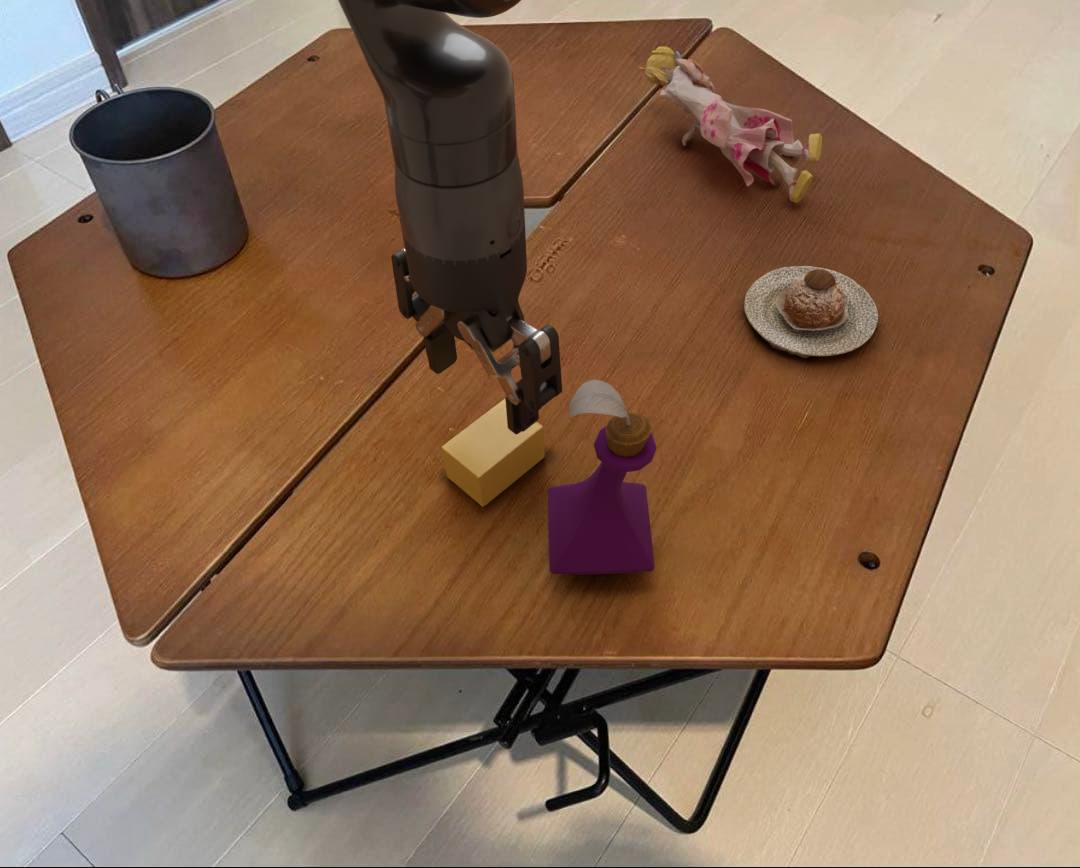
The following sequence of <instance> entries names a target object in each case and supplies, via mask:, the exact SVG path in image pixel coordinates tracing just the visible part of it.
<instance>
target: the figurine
mask: <svg viewBox="0 0 1080 868" xmlns="http://www.w3.org/2000/svg"><path fill="white" fill-rule="evenodd" d="M638 68H639V69H641V70H642V71H643V72H644V73H645V74H644V75H645V78H646V79H647V80H648V82H649V83H650V84H652V85H653V84H654V85H661V86H666V87H665V88H664V89H661V90H660V93H659V97H660V99H661V100H664V99H665V100H666V99H667V100H670V101H671V102H673V103H675V104H676V105H677V106H679V107H680V108H682V109H683V111H685V113H687V114H689V115H691V116H692V117H693V118H695V119H694V121H693V123H692V124H691V128H692V129H691V130H689V131H688V132H686V133H685V134H683V138H682V140H681V143H682V146H685V147H686V146H687V143H688V141H690V139H691V138H693V137H694V136H695V135H696V133H697V131H700V134H701V137H703V139H704V140H706V141H708V142H709V143H710V144H712V145H714V146H715V147H718V148H719V149H720V150H721V153H722V155H724V156H725V158H726V159H728V160H729V161H730V162H731V163H732V165H733V166H734V168H736V169H737V171H738V172H739V174H740V175H741V176H742V178H743V181H744V182H745V185H746V186H747V187H749V186H752V185H753V183H754V181H755V179H754V177H753V174H752V173H751V171H752V172H753V173H754V174H756V175H757V176H758V177H759V178H760V179H761V180H762V181H764V182H766V183H768V184H770V185H774V186H776V182H775V180H774V179H772V178H771V173H772V172H775V169H777V171H778V172H779V174H780V176H781V178H783V180H784V182H785V183H786V185H787V187H788V190H789V191H788V194H789V195H788V198H789V202H793V203H796V204H797V203H800V201H801V199H802V198H803V197H804V195H805V193H806V192H807V190H808V189H809V187H810V185H812V182H813V179H814V176H813V175H812V174H811V173H810V172H809V171H808V170H806V169H805V170H802V171H801V173H800V174H799V177H798V171H799V168H797V167H796V168H795V167H792V166H790V165H789V164H788V163H787V162H786V161H784V160H783V158H782V155H783V156H786V157H789V158H790V157H801V158H804V160H805V161H806V162H807V163H808V164H813V165H814V164H816V163H818V162H819V160H820V158H821V153H822V147H823V135H822V134H821V133H809V136H808V140H807V142H805V144H804V145H803V144H802V142H801V141H800V140H799V139H797V140H795V137H794V131H793V130H794V129H793V120H792V119H791V118H789V117H787V116H783V115H782V114H779V113H776V112H774V111H771V110H768V109H765V108H757V107H748V106H747V107H746V106H743V105H737V104H732V103H728V102H726V101H724V100H723V98H722V96H721V95H719V94H717V93H716V88H715V86H714V83H713V82H712V81H711V79H710V76H708V75H707V74H706V73H705V70H704V69H703V67H702V66H701V65H700V64H699V63H698V62H696V60H695V59H692V58H688V59H685V58H682V55H681V54H680V52H679V51H677V50H676V51H674V50H673V49H672V48H671V47H668V46H658V47H657V48H656V49H655V50H654V49H653V50H652V51H651V55H650V56H649V57H648V59H647V61H646V64H645V67H641V66H638ZM807 147H808V149H807ZM748 169H749V170H750V171H749V170H748ZM797 178H798V179H797Z"/></svg>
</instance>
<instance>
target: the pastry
mask: <svg viewBox="0 0 1080 868" xmlns="http://www.w3.org/2000/svg"><path fill="white" fill-rule="evenodd" d="M743 303H744V304H743V306H744V308H743V309H744V314H745V315H746V318H747V320H748V323H749V324H750V325H751V327H752V328H753V329H754V330H755V331H756V333H758V334H759V335H760V336H761V338H762V340H764V341H765V342H766V343H767V344H769V346H770V347H771V348H774V349H776V350H778V351H782V352H787V353H788V354H790V355H795V356H799V357H801V358H805V359H807V358H809V357H810V356H811V357H829V356H837V355H843V354H846V353H849V352H852V351H854V350H856V349H858V348H860V347H861V346H863V345H864V344H865V343H866V342H868V341H869V340H870V339H871V338H872V336H873V335H874V333H875V331H876V328H877V327H878V323H879V312H878V308H877V305H876V303H875V301H874V299H873V298H872V297H871V296H870V293H869V292H868V291H867V290H866V289H865V288H864V287H863V286H861V285H860V284H858V283H857V282H856V281H855V280H854V279H852V278H850V277H849V276H847V275H845V274H843V273H841V272H839V271H835V270H832V269H829V268H824V267H817V266H811V265H797V266H795V265H794V266H792V265H791V266H784V267H783V266H782V267H779V268H776V269H773V270H770V271H768V272H767V273H765V274H763V275H762V276H761V277H759V278H758V279H756V280H755V281H754V282H753V283H752V284H751V285H750V287H749V289H748V290H747V292H746V293H745V296H744V300H743Z"/></svg>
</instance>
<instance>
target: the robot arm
mask: <svg viewBox="0 0 1080 868" xmlns="http://www.w3.org/2000/svg"><path fill="white" fill-rule="evenodd" d="M521 1H522V0H337V2H338V4H339V6H340V8H341V11H342V12H343V14H344V16H345V18H346V20H347V23H348V25H349V27H350V30H351V31H352V33H353V35H354V37H355V40H356V41H357V44H358V46H359V48H360V51H361V53H362V55H363V57H364V59H365V61H366V64H367V66H368V69H369V70H370V72H371V74H372V76H373V78H374V79H375V81H376V83H377V84H376V85H377V86H378V88H379V90H380V92H381V95H382V98H383V102H384V110H385V115H386V121H387V122H386V123H387V127H388V133H389V140H390V144H391V150H392V156H393V157H392V158H393V165H394V191H395V192H394V193H395V200H396V206H397V211H398V217H399V221H400V222H399V223H400V228H401V235H402V240H403V245H404V246H403V248H401V249H400V250H398V251H396V252H395V253H393V254H392V255H391V256H390V257H391V259H390V260H391V265H392V272H393V279H394V287H395V291H396V299H397V305H398V310H399V312H400V314H401V316H403V318H405V319H407V320H409V319H411V318H413V319H414V320H415V322H416V323H415V328H416V330H417V332H418V334H419V335H420V336H421V337H423V343H424V348H425V354H426V357H427V362H428V367H429V369H430V370H431V371H433V372H434V374H436V375H440V374H442V373H443V372H444V371H446V370H447V369H448V368H450V367H452V366H453V365H454V364H455V363H456V362H457V360H458V354H457V346H456V345H457V344H456V339H458V340H460V341H462V342H464V343H465V344H466V345H467V346H468V347H470V348H471V349H472V350H473V351H474V353H475V355H476V356H477V358H478V360H479V362H480V364H481V366H482V367H483V370H484V371H485V373H486V375H487V376H489V377H491V378H496V379H497V381H498V383H499V385H500V386H501V388H502V390H503V392H504V394H505V397H504V399H505V400H506V412H507V425H508V429H509V430H510V431H512V432H513V433H514V434H519V433H520V432H521V431H522V432H524V431H525V430H527V429H528V428H529V427H530V426H532V425H533V424H534V423H535V422H538V420H539V419H540V410H541V409H542V408H543V407H545V405H547V404H548V403H549V402H550V401H551V400H553V399H555V398H556V397H558V396H559V395H560V394H561V393H563V381H562V379H563V378H562V366H561V351H560V337H559V332H558V331H557V329H556V328H555V327H554V326H552V325H551V324H545V325H544V326H543V327H541V328H540V329H537V328H536V327H534V326H533V325H530V323H527V322H526V319H525V316H524V313H523V311H522V308H521V305H520V302H519V298H520V294H521V291H522V288H523V286H524V283H525V280H526V278H527V273H528V258H527V256H528V255H527V238H526V237H527V236H526V234H527V233H526V215H525V194H524V193H525V192H524V191H525V190H524V180H523V179H524V178H523V172H522V168H521V163H520V159H519V153H518V151H519V150H518V135H517V132H518V131H517V118H516V117H517V115H516V101H515V100H516V98H515V97H516V96H515V95H516V94H515V81H514V74H513V68H512V66H511V62H510V60H509V59H508V57H507V55H506V54H505V52H504V51H503V50H502V49H501V48H500V47H499V46H498V45H497V44H495V43H493V42H492V41H491V40H489V39H487V38H486V37H484V36H482V35H480V34H478V33H476V32H474V31H472V30H470V29H469V28H466V27H464V26H463V25H461V24H460V23H458V22H456V21H455V20H454V19H453V18H451V16H450V15H455V16H460V17H465V18H474V19H475V18H476V19H485V18H492V17H496V16H498V15H502V14H504V13H506V12H507V11H509V10H511V9H512V8H514V7H515V6H517V5H518V4H520V2H521ZM448 14H450V15H448ZM510 340H511V342H512V344H513V346H512V349H511V350H510V351H508V352H507V353H506V354H504V355H503V356H502V357H501V358H499V359H496V356H495V354H494V353H495V351H497V350H499V349H500V348H501V347H502V346H504V345H506V343H508V342H509V341H510ZM517 366H519V369H520V375H521V378H520V380H519V379H518V381H517V382H516V380H515V379H514V377H513V375H512V371H513V369H515V367H517Z"/></svg>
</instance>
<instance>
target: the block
mask: <svg viewBox="0 0 1080 868" xmlns="http://www.w3.org/2000/svg"><path fill="white" fill-rule="evenodd" d="M440 449H441V454H442V459H443V465H444V468H445V469H444V470H445V474H446V478H447V479H449V481H451V482H452V483H453V484H455V485H456V486H457V487H458V488H460V489H461V490H462V491H463V492H464V493H465V494H466V495H468V496H469V497H470V498H471V499H472V500H473V501H475V502H476V503H477V504H478V505H480V506H481V507H482V508H484V507H485V506H486V505H488V504H489V503H491V502H492V501H493V500H494V499H495V498H496V497H498V496H499V495H500V494H501V493H502V492H504V491H505V490H506V489H508V488H509V487H510V486H511V485H512V484H513V483H515V482H516V481H517V480H518V479H520V478H521V477H522V476H523V475H525V474H526V473H527V472H529V471H530V470H531V469H532V468H533V467H534V466H536V465H537V464H538V463H539V462H541V460H543V459H544V458H545V457H546V453H545V451H546V450H545V434H544V426H543V425H542V424H541V423H539V422H538V421H537V422H535V423H534V424H533V425H532V426H530V427H529V428H528V429H527V430H525V431H524V432H522V431H521V432H520V433H519V434H514V433H513V432H512V431H510V430H509V429H508V425H507V412H506V400H505V398H504V399H502V400H501V401H499V402H498V403H497V404H496V405H494V406H493V407H492V408H490V409H489V410H488V411H486V412H485V413H484V414H483V415H481V416H479V417H478V418H477V419H476V420H474V421H473V422H472V423H470V424H469V425H468V426H466V427H464V429H463V430H461V431H460V432H458V434H456V435H455V436H453V437H452V438H451V439H450V440H448V441H447V442H445V443H444V444H442V445H441V447H440Z"/></svg>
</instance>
